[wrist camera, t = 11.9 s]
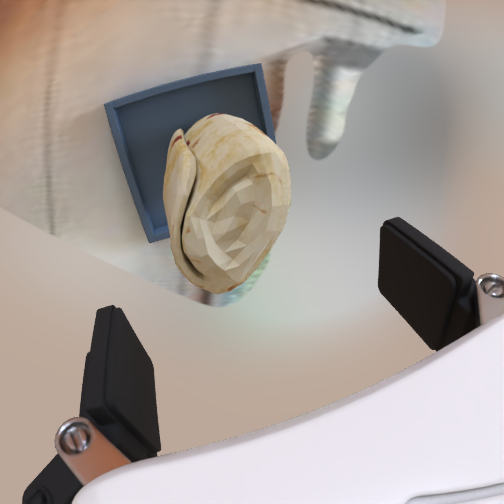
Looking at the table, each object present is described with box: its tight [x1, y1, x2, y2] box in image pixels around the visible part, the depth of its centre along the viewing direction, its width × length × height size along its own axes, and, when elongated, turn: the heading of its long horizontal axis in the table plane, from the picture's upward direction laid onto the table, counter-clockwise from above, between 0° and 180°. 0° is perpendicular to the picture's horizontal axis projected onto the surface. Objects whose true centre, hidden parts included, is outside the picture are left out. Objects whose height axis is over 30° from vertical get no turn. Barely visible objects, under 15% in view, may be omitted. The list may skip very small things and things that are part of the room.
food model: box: [163, 113, 291, 294], centre depth 24 cm, size 10×7×20 cm
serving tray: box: [104, 63, 276, 243], centre depth 32 cm, size 16×16×2 cm
